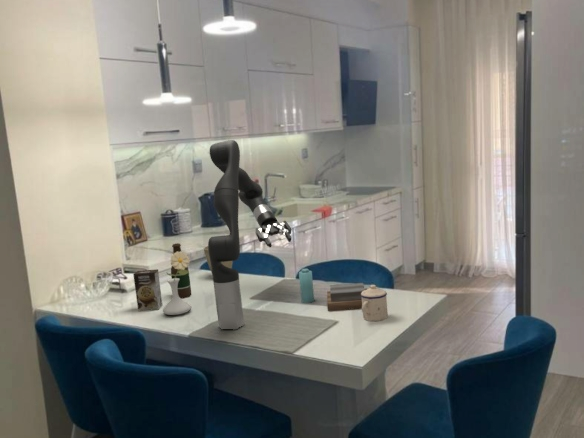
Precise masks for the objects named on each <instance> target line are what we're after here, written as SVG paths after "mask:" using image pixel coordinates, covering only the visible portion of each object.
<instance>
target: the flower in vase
mask: <svg viewBox="0 0 584 438" xmlns="http://www.w3.org/2000/svg"><path fill="white" fill-rule="evenodd" d="M170 265H171V267H172V266H173V267H174V268H175V269H178V270H179V271H177V273H179V274H181V275H185V274H187V273H189V274H190V271H189V272H188V271H187V270H185V268H187V267H188V268H189V266H190V258H189V256H188V254H186V253H185V252H184V251H182V250H181V251H180V252H178V251H177V252H176V253H174V255H173V254H171V256H170ZM180 269H181V270H180ZM165 274H167V275H168V276H170V277H171V276H175V275H174V274H171V273H168V272H166V273H165ZM176 276H177V274H176ZM176 276H175V278H173V279H172V278H169V279H167V280H166V283H168V284H169V286H170V289H171V295H172V297H171V299H170V300H169V301H168V302H167V303H166V305H165V306H164V307H163V309H162V313H163V314H165V315H169V316H176V315H177V316H178V315H182V314H183V315H184V314H186V313H187V312H189V311H190V310H191V309H192V305H191V304H190V303H189V302H188V301H186V300H184V299H183V298H182V299H181V298H180V297H179V295H178V290H177V286H178V282H179V280H180V279H179V278H176Z"/></svg>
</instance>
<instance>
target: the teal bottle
mask: <svg viewBox="0 0 584 438" xmlns="http://www.w3.org/2000/svg"><path fill="white" fill-rule="evenodd" d="M313 280H314V279H313V271H312V270H309V268H302V269H301V270H300V271H299V272H298V281H299V286H300V288H299V289H300V290H299V291H300V298H301V303H303V304H309V303H313V302H315V293H314V292H315V291H314V281H313Z"/></svg>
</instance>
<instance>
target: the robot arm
mask: <svg viewBox="0 0 584 438" xmlns="http://www.w3.org/2000/svg"><path fill="white" fill-rule="evenodd" d="M240 151H241V150H240V146H239V144H238V142H237V141H236V140H234V139H230V140H225V141H220V142H215V143H213V144H211V145H210V146H209V158H210V159H211V161H212V163H213V165H214V166H216V167H217V169H219V171H220V172H222V173H223V175H222V176H221V177H220V179H219V180H218V182H217V184H216V185H215V187H214V191H213V207H214V209H215V211H216V213H217V214H218V215H219V217H220V219H222V221H223V222H224V224H225V225H226V227H227V229H228V230H229V234H228V235H217V236H215V235H214V236H211V237H210V238H209V239H208V242H207V246H208V250H209V256H210V262H211V268H212V272H211V274H212V281H213V289H214V291H213V292H214V298H215V306H216V314H217V320H218V321H217V322H218V324H217V325H218V328H219V327H220V328H221V329H233V330H238V329H240V328H241V326H242V327H243V326H244V325H245V319H244V318H245V317H244V312H243V311H244V310H243V302H242V301H243V300H242V292H241V284H240V275H239V271H238V270H237V269H236V268H235V269H234V268H232V269H231V268H228V267H226V266H224V265H223V264H222V263H221V262H225V261H233V262H234V261H238V259H239V258H240V253H241V252H240V251H241V241H240V229H239V204H240V203H239V200H240V201H241V202H242V203H243V204H245V206H247V207H248V208H249V209H250V211H251V212H252V214H253V217H254V218H255V221H256V222H257V224H258V226H259V227H260V228H259V227H255V235H256V237H257V241H259V242H260V243H261V242H262V243H263V242H264V243H265V245H266V246H267V247H268V248H272V242H271V240H270V239H269V237H270V236H275V235H280V236H285V239H286V240H287V242H288V243H290V242H291V241H292V236H291V235H292V229H293V228H292V227H291V226H290V225H289V223H288V222H287V221H286V220H283V222H281V223H280V222H279V221H278V220H277V218H276V215H275V214H274V213H273V211H272V209H271V208H270V207H269V206H268V204H267V202H266V201H265V199H264V198H263V197H262V195H263V188H262V187H261V185H260V184H259V183H258V182H256V181H254V180H253V179H251V177H250V175H249V174H248V173H247V171H246V170H244V169H243V168H242V167H240V158H241V155H240V154H241V153H240ZM262 233H263V234H264V236H263V235H262ZM239 327H240V328H239ZM220 328H219V329H220ZM221 329H220V330H221Z"/></svg>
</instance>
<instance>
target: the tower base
mask: <svg viewBox="0 0 584 438" xmlns="http://www.w3.org/2000/svg"><path fill="white" fill-rule="evenodd" d="M329 287H330V290H329V291H328V290H327V293H326V306H327V307H326V308H327V311H328V312H333V311H335V312H337V311H347V310H360V309H361V310H362V297H361V293H362V292H363V291H364V290H367V289H368V288H365V285H364V283H363V282H357V283H354V282H353V283H343V284H342V283H341V284H331V285H329Z"/></svg>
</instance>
